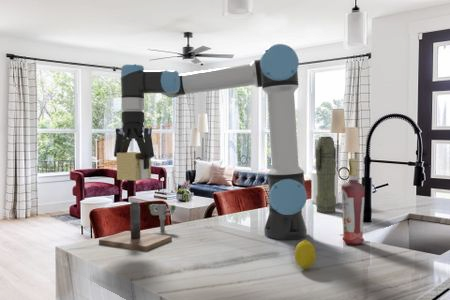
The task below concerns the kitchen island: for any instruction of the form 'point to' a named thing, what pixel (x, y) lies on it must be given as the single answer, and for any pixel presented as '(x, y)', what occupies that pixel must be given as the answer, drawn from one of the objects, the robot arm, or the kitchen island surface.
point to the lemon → (305, 254)
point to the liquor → (353, 207)
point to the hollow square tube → (130, 166)
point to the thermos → (326, 175)
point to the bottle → (314, 183)
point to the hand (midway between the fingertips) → (134, 178)
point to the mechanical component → (161, 212)
